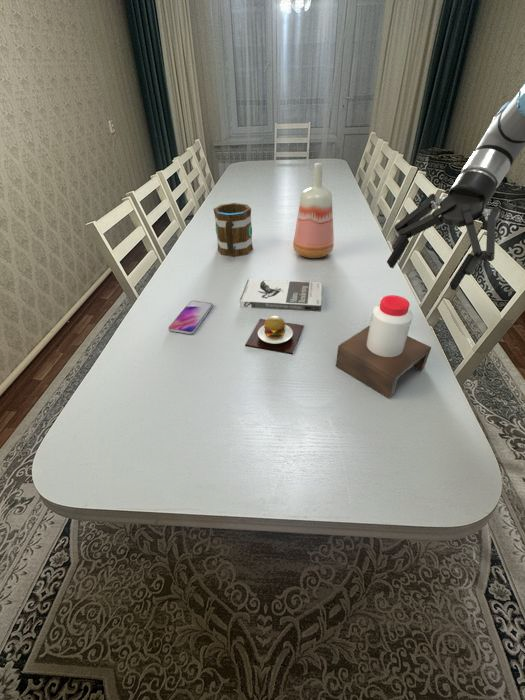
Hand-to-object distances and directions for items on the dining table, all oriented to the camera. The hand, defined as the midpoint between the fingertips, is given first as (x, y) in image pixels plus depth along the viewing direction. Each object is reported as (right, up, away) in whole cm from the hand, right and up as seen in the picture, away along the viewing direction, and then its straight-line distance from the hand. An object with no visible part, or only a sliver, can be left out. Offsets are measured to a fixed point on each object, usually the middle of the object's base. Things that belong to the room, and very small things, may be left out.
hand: (419, 275), depth 72 cm
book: (-26, +1, +35) cm, 43 cm away
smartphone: (-51, -6, +27) cm, 58 cm away
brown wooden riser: (-5, -19, +9) cm, 21 cm away
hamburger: (-28, -12, +19) cm, 36 cm away
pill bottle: (-5, -14, +5) cm, 16 cm away
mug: (-42, +21, +61) cm, 77 cm away
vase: (-13, +20, +59) cm, 64 cm away
